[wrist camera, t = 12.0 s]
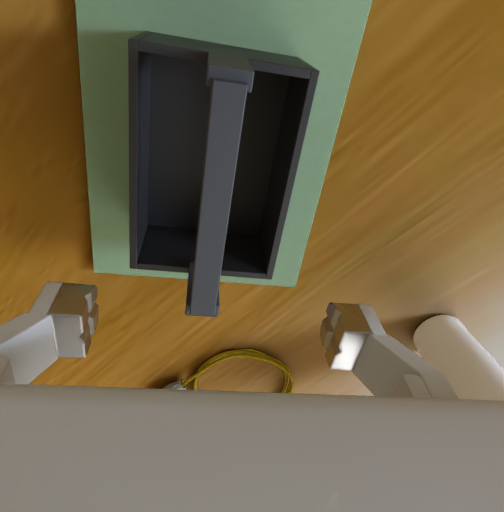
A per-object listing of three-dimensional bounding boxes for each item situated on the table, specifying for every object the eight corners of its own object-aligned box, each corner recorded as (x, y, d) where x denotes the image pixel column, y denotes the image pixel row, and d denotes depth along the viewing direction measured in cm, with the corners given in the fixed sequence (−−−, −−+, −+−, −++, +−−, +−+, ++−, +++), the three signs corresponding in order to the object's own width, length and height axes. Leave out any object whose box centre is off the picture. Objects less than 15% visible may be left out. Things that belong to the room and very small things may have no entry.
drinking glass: (476, 307, 41) (592, 440, 29) (452, 352, 45) (546, 489, 32) (416, 306, 40) (507, 443, 28) (396, 352, 44) (470, 492, 32)
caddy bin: (144, 30, 25) (106, 48, 15) (299, 57, 26) (346, 88, 17) (142, 226, 32) (114, 317, 23) (262, 238, 34) (282, 327, 24)
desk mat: (72, -86, 22) (68, -89, 21) (374, -23, 25) (379, -24, 24) (95, 267, 35) (93, 272, 34) (293, 282, 37) (295, 287, 37)
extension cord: (150, 345, 40) (148, 360, 39) (300, 348, 42) (304, 362, 41) (152, 418, 47) (150, 434, 45) (282, 418, 49) (285, 432, 47)
